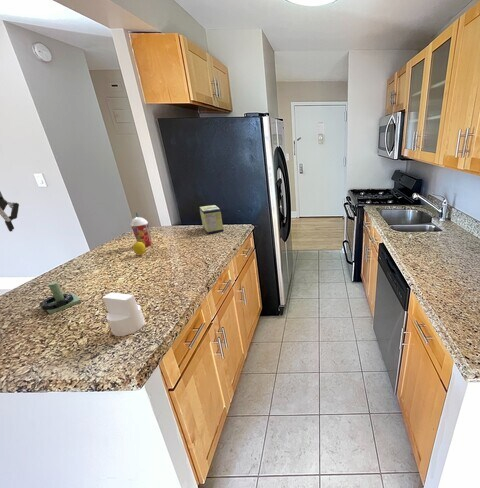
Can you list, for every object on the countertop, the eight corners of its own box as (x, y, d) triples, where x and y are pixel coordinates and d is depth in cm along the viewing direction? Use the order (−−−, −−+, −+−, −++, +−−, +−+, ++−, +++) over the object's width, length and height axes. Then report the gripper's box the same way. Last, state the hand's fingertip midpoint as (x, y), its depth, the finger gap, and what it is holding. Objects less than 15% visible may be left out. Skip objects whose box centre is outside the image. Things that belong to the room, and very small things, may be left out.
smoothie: (156, 242, 157) (148, 210, 150) (149, 247, 149) (139, 214, 142) (142, 243, 157) (133, 210, 149) (133, 248, 149) (123, 214, 141)
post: (49, 314, 93) (39, 292, 89) (42, 306, 97) (32, 285, 94) (81, 302, 100) (72, 281, 96) (73, 295, 104) (64, 275, 101)
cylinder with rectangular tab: (105, 334, 83) (92, 302, 79) (129, 316, 91) (119, 287, 87) (129, 337, 82) (117, 306, 77) (151, 319, 90) (142, 290, 85)
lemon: (132, 256, 138) (128, 242, 135) (141, 252, 143) (137, 239, 140) (141, 257, 137) (136, 243, 134) (149, 253, 142) (146, 240, 139)
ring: (46, 312, 92) (44, 308, 91) (38, 305, 96) (36, 301, 95) (76, 300, 99) (75, 297, 98) (68, 294, 103) (66, 291, 102)
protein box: (218, 225, 188) (214, 204, 182) (224, 231, 176) (220, 209, 170) (202, 228, 182) (198, 206, 176) (207, 234, 170) (203, 211, 165)
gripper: (8, 181, 96) (28, 225, 103) (-56, 186, 85) (-30, 235, 92) (13, 183, 92) (32, 229, 99) (-54, 189, 81) (-27, 240, 88)
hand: (2, 232), depth 95 cm, fingers open, 3 cm apart
